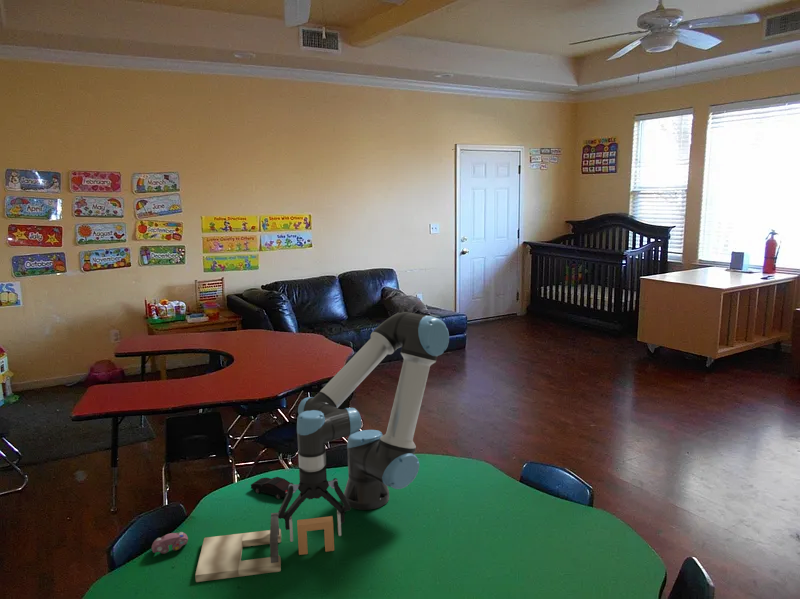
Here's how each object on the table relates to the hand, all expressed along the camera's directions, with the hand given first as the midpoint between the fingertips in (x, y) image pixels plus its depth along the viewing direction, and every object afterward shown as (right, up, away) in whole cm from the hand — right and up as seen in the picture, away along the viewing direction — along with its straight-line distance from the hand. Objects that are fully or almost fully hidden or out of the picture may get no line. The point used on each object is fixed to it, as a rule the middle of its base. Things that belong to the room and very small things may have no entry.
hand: (315, 536), depth 170 cm
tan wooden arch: (0, -4, +1) cm, 4 cm away
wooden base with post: (-21, -5, -2) cm, 21 cm away
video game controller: (-42, -5, +2) cm, 42 cm away
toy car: (-19, +1, +34) cm, 40 cm away
